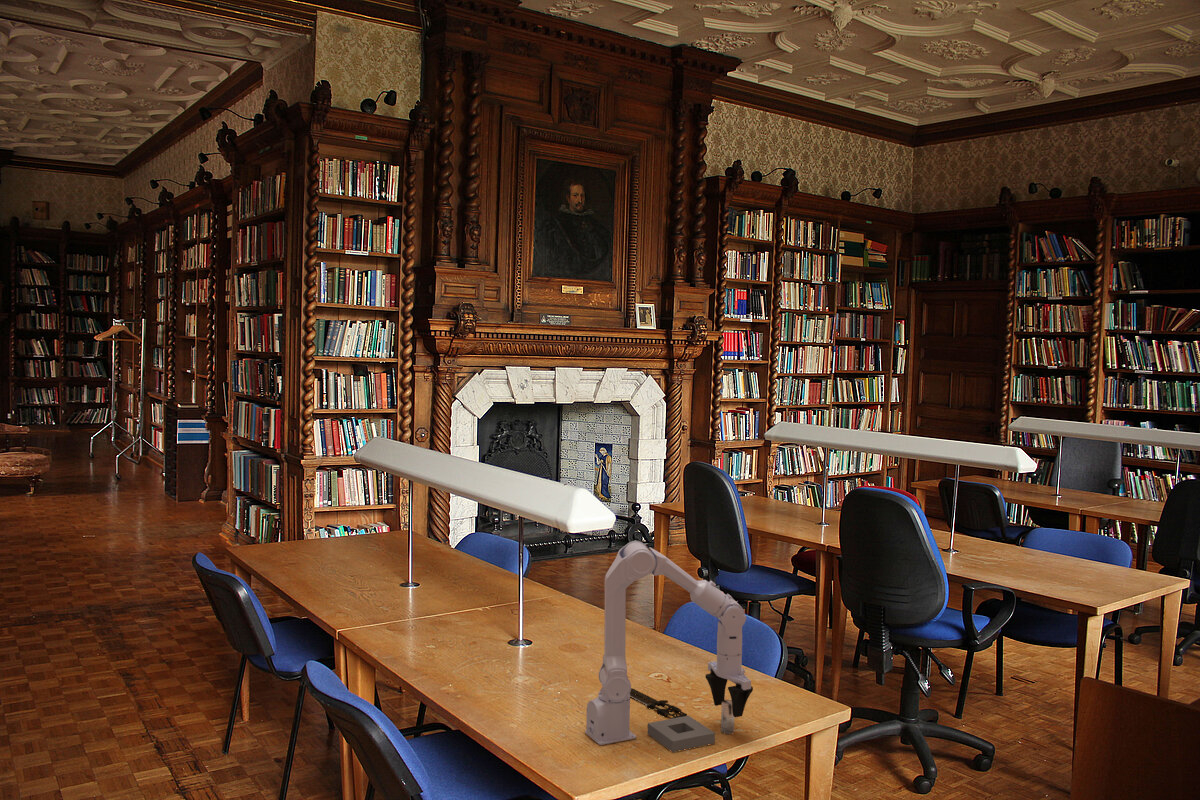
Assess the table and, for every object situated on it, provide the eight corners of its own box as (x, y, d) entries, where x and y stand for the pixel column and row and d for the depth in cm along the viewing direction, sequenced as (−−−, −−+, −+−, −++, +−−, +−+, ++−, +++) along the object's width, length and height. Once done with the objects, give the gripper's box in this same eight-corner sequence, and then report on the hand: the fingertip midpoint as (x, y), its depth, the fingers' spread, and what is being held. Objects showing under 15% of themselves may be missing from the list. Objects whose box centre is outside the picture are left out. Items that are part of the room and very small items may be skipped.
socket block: (672, 752, 202) (672, 741, 201) (647, 733, 211) (647, 723, 211) (714, 743, 207) (715, 732, 206) (688, 726, 216) (688, 715, 216)
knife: (612, 690, 240) (612, 685, 240) (633, 686, 243) (633, 681, 243) (668, 724, 218) (668, 718, 218) (690, 719, 221) (690, 713, 221)
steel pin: (725, 735, 211) (726, 705, 211) (718, 730, 214) (719, 700, 214) (736, 733, 213) (737, 703, 212) (729, 728, 215) (729, 698, 215)
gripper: (762, 659, 208) (761, 718, 209) (725, 641, 221) (724, 697, 221) (736, 663, 205) (735, 723, 205) (700, 645, 218) (699, 701, 218)
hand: (728, 710), depth 213 cm, fingers open, 7 cm apart
